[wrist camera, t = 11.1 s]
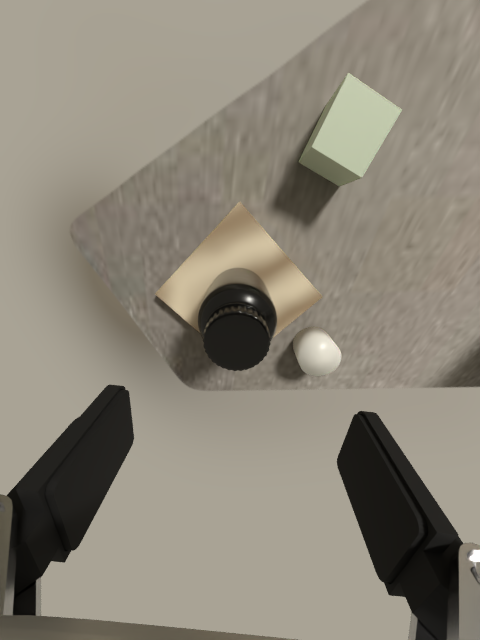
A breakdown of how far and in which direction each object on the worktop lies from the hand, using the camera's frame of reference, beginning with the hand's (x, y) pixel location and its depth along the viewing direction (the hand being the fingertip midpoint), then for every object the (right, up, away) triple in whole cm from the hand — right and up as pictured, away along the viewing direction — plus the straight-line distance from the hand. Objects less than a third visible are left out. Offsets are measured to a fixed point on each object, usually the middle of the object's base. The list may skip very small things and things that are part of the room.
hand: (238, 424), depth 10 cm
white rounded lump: (+10, +1, +22) cm, 24 cm away
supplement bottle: (0, +7, +18) cm, 19 cm away
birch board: (0, +8, +19) cm, 21 cm away
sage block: (+9, +21, +13) cm, 27 cm away
